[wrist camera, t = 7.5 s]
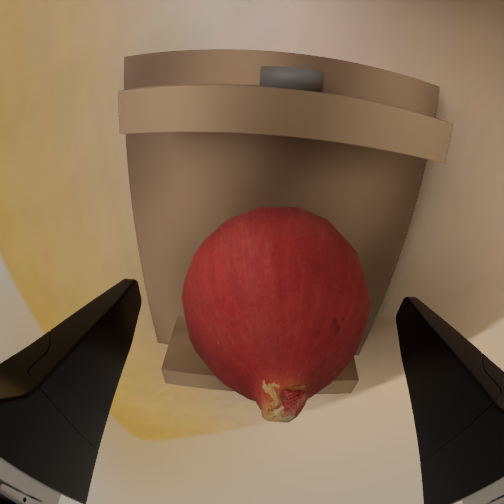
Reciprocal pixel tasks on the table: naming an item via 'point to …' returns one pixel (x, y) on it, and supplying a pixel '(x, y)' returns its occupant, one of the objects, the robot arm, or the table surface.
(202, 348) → the onion
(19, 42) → the table surface
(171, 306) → the cup
